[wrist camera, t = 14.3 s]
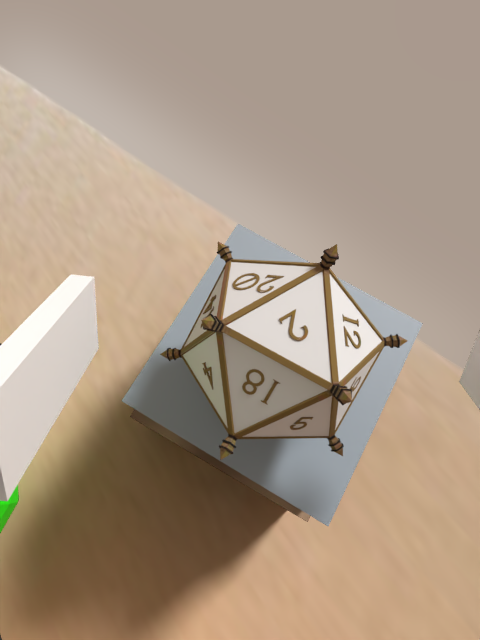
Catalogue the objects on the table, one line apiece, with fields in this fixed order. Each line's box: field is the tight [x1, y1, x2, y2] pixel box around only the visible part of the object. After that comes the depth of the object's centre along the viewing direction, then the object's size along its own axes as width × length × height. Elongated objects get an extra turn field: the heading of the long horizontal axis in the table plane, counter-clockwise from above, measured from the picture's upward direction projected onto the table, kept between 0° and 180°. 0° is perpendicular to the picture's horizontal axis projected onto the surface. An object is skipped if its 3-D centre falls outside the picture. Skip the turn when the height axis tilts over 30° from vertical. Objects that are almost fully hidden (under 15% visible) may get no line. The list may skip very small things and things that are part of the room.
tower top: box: [122, 224, 422, 526], centre depth 25 cm, size 11×11×6 cm
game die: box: [160, 242, 408, 460], centre depth 18 cm, size 9×8×10 cm
